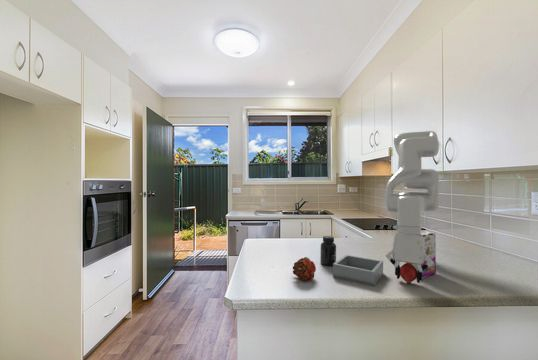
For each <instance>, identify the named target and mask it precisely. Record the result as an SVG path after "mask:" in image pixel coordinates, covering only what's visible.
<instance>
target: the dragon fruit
mask: <svg viewBox="0 0 538 360" xmlns="http://www.w3.org/2000/svg"><path fill="white" fill-rule="evenodd" d="M316 268H317V267H316V264H315V262H314V261H312V260H311V259H310V258H309V257H307V256H305V257H301V258H300V259H298V260H297V261H296V262H294V263H293V266H292V274H293V275H295V276H296V277H297V278H299V279H300V280H302V281H305V282H306V281H307V280H308V279H309V280H311V279H312V280H313V279H314V278H315V272H316V271H317V269H316Z"/></svg>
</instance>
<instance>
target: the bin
mask: <svg viewBox="0 0 538 360" xmlns="http://www.w3.org/2000/svg"><path fill="white" fill-rule="evenodd" d="M383 275H384V260H379V259H372V258H366V257H360V256H355V255H350V254H345V255H344V256H342V257H340V258H339V259H337V260H336V262H335V263H334V264H333V266H332V277H333V278H336V279H341V280H344V281H348V282H349V281H350V282H354V283H358V284H362V285H365V286H366V285H367V286H371V287H375V285H376V284H377V283H378V281H379V280H380V278H382V276H383Z"/></svg>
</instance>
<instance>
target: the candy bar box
mask: <svg viewBox="0 0 538 360" xmlns="http://www.w3.org/2000/svg"><path fill="white" fill-rule="evenodd" d="M421 235H423V239H424V246H425V254H426V255H427V256H428V257H429V258H430V259H431V260H432V261H433V265H431V266H430V267H428V268H427V269H425V270H424V271H422V278H425V277H429V276H432V275H434V274H435V275H436V274H437V270H436V269H437V268H436V266H437V265H436V264H437V262H436V261H437V259H436V255H437V254H436V232H432V231H427V230H426V231H425V230H423V231H422V230H421ZM426 263H427V261H426V260H424V263H423V264H422V266H423V265H424V264H426ZM411 264H412V263H411ZM412 265H413V266H414V267H415V268H416V270H417V271H418V267H417V265H416V264H412Z"/></svg>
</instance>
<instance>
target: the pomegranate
mask: <svg viewBox="0 0 538 360" xmlns="http://www.w3.org/2000/svg"><path fill="white" fill-rule="evenodd" d="M399 273H400V278H401V279H402V280H403V281H405V283H406V284H411V283H412V282H414V281H415V280H417V270H416V268H415V267H414V266H413V265H412V264H411V263H406V262H404V264H402V265H401V266H400V271H399Z"/></svg>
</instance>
